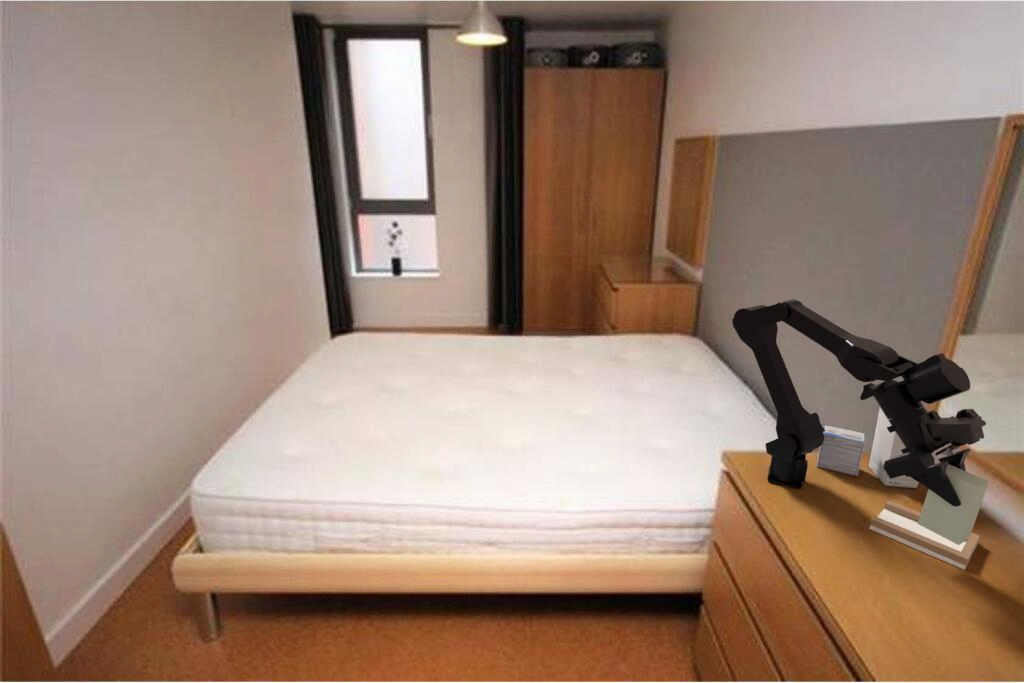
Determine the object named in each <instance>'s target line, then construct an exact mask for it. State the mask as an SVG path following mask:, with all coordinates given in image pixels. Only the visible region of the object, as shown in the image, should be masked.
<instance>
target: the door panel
mask: <svg viewBox="0 0 1024 683" xmlns="http://www.w3.org/2000/svg"><path fill="white" fill-rule="evenodd" d="M946 474H947V476H948V478H949V480H950V482H951V484H952V486H953V488H954V490H955V492H956V494H957V496H958V498H959V500H960V502H961V505H960V506H956V507H954V506H952V505H951V504H949V503H948V502H947V501H945V500H944V499H942V498H941V497H940V496H938V495H937V494H935V493H934V492H933V491H931V490H930V489H928V488H927V489H928V490H927V492H926V495H925V499H924V503H923V506H922V509H921V512H920V513H921V515H920V518H919V521H918V524H919V525H921V526H923V527H925V528H927V529H928V530H930V531H932V532H934V533H936V534H938V535H940V536H942V537H944V538H946V539H948V540H950V541H952V542H953V543H955V544H957V545H960V544H961V543H963V542H964V541H966V540H967V539H969V537H970V534H971V532H972V531H973V529H974V526H975V523H976V520H977V518H978V514H979V512H980V509H981V507H982V503H983V500H984V498H985V495H986V491H987V489H988V486H989V483H990V480H988V479H985V478H982V477H980V476H978V475H975V474H973V473H970V472H968V471H967V470H966V471H964V470H961V469H959V468H957V467H954V466H952V465H949V464H948V465H947V468H946ZM972 533H973V532H972Z"/></svg>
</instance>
